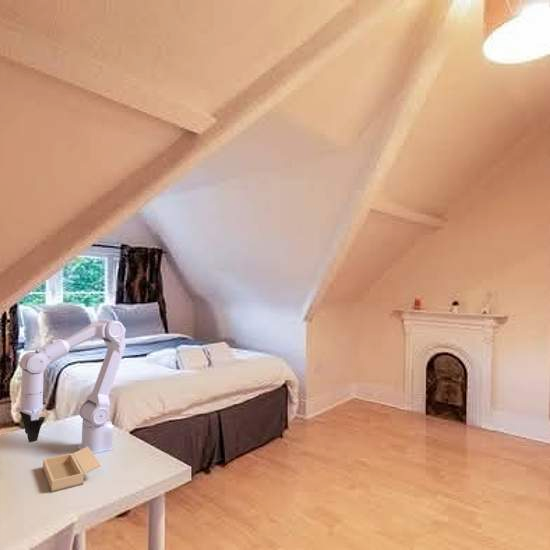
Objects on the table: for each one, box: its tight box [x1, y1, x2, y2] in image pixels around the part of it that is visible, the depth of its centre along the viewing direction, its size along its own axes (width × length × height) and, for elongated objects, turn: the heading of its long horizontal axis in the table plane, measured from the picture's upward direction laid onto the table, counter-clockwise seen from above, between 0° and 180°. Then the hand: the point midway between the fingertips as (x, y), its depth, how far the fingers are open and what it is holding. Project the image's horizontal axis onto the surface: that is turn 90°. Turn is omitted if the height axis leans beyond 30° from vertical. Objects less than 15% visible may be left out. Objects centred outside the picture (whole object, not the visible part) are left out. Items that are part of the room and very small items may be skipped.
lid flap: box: [72, 447, 102, 475], centre depth 127 cm, size 4×15×1 cm, turn 36°
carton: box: [42, 453, 85, 493], centre depth 123 cm, size 8×16×3 cm, turn 37°
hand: (31, 437), depth 127 cm, fingers open, 7 cm apart
